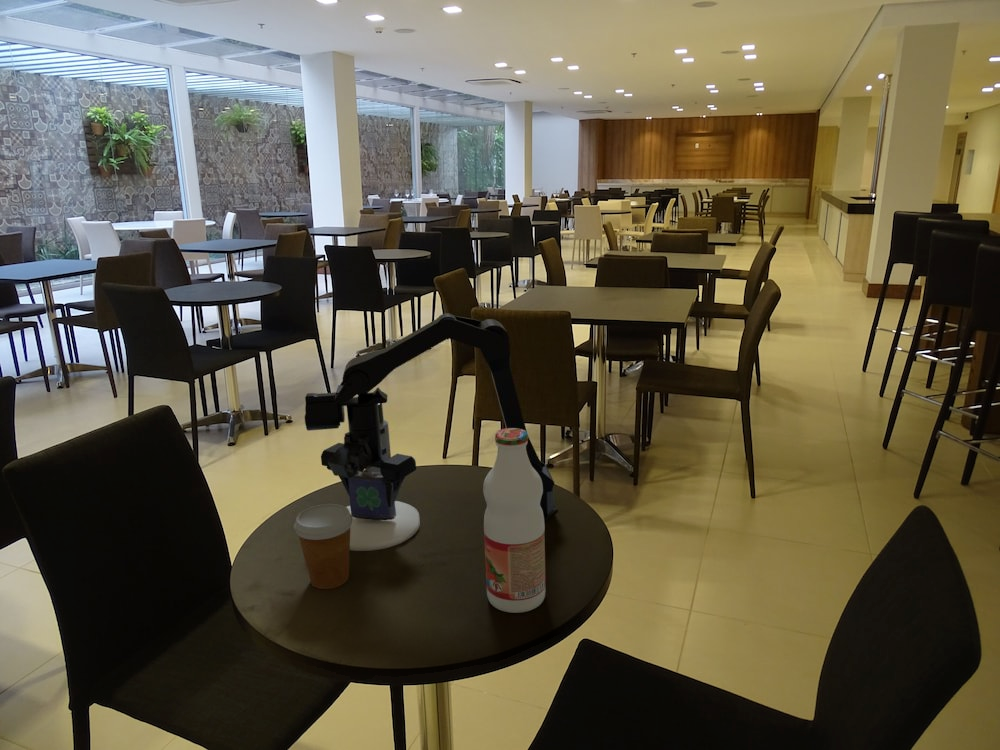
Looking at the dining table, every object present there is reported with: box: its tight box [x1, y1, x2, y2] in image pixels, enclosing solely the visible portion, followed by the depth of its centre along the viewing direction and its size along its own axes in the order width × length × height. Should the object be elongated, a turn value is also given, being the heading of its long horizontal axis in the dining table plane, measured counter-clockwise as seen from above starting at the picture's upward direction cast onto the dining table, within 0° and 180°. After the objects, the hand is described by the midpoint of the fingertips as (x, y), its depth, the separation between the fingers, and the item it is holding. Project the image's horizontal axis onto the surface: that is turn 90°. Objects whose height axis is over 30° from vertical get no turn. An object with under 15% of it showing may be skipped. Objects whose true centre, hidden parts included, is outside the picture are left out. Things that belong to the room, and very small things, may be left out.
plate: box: [346, 500, 421, 552], centre depth 139 cm, size 18×18×2 cm
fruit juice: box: [482, 427, 547, 614], centre depth 111 cm, size 9×9×28 cm
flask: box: [348, 466, 396, 520], centre depth 137 cm, size 9×3×11 cm, turn 75°
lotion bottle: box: [364, 403, 392, 473], centre depth 153 cm, size 6×6×20 cm
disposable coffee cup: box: [293, 503, 353, 590], centre depth 120 cm, size 10×10×12 cm
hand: (371, 502), depth 137 cm, fingers closed on flask, 9 cm apart
